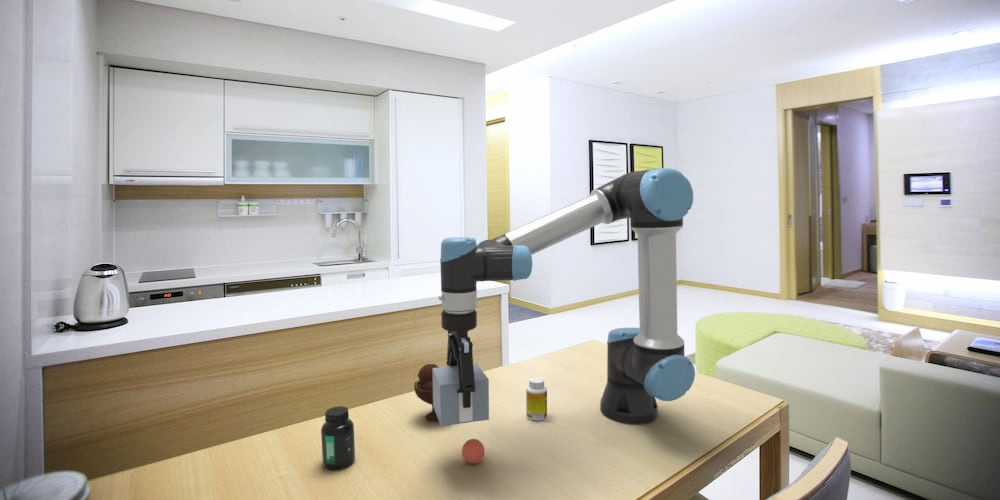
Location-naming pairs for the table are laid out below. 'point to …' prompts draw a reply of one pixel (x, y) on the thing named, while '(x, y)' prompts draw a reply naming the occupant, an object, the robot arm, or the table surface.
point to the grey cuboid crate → (449, 398)
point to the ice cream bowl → (426, 389)
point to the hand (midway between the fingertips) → (460, 409)
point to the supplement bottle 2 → (536, 399)
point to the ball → (473, 451)
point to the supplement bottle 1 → (337, 439)
